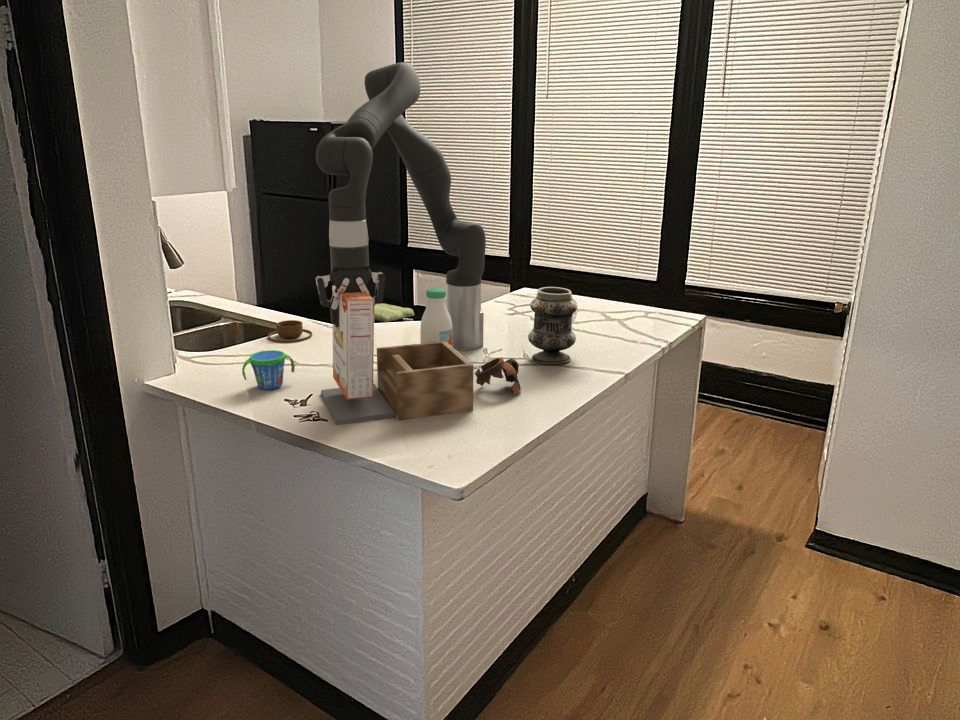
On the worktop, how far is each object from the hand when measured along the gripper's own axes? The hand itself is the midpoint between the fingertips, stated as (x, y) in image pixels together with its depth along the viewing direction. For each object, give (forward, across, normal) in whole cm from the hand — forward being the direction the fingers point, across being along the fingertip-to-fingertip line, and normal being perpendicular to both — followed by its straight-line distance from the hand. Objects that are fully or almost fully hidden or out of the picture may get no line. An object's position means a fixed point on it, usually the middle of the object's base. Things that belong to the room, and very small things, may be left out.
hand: (352, 324), depth 147 cm
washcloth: (+19, -23, -71) cm, 77 cm away
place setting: (+19, +10, -58) cm, 61 cm away
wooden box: (+18, -14, +2) cm, 23 cm away
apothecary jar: (+18, -53, -15) cm, 58 cm away
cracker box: (+14, +1, 0) cm, 14 cm away
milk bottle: (+18, -23, -16) cm, 33 cm away
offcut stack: (+18, -10, +2) cm, 20 cm away
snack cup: (+18, +16, -18) cm, 30 cm away
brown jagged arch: (+19, -34, +2) cm, 39 cm away
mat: (+18, 0, 0) cm, 18 cm away
